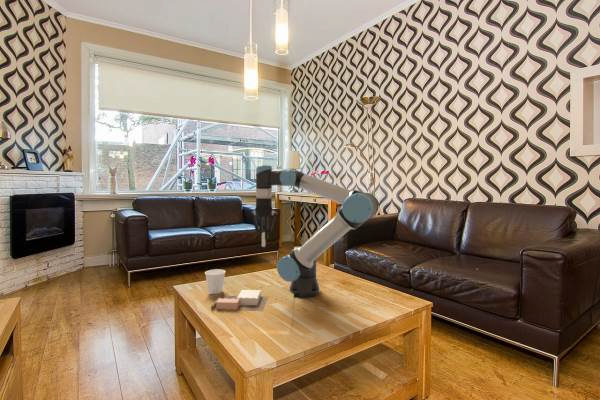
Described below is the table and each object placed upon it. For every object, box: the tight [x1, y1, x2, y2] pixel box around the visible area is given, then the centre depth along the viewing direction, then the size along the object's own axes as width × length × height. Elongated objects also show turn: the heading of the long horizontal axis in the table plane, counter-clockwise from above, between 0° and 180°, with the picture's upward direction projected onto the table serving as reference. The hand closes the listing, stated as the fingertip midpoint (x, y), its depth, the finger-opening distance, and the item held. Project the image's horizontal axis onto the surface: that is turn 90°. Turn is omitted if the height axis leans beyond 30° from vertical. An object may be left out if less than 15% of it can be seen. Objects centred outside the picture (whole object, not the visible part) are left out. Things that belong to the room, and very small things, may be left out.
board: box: [210, 291, 269, 312], centre depth 143 cm, size 22×17×3 cm
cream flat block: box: [237, 289, 262, 305], centre depth 146 cm, size 9×11×3 cm
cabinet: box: [216, 298, 240, 311], centre depth 138 cm, size 9×5×3 cm, turn 88°
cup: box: [204, 268, 226, 296], centre depth 157 cm, size 10×10×11 cm
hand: (263, 246), depth 155 cm, fingers closed
